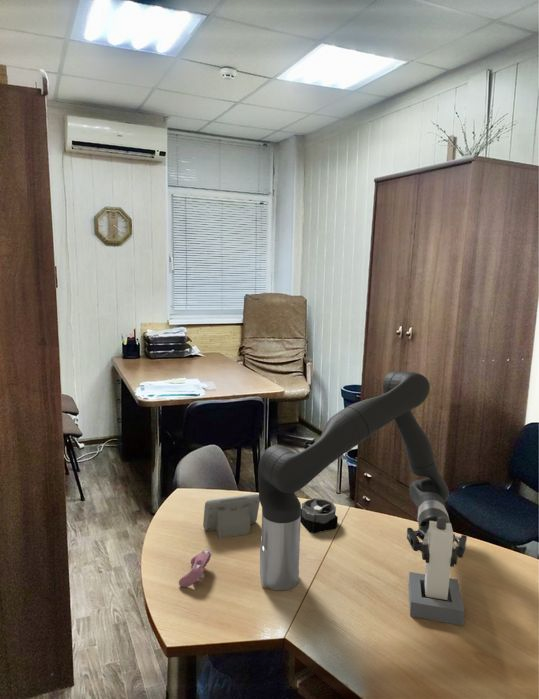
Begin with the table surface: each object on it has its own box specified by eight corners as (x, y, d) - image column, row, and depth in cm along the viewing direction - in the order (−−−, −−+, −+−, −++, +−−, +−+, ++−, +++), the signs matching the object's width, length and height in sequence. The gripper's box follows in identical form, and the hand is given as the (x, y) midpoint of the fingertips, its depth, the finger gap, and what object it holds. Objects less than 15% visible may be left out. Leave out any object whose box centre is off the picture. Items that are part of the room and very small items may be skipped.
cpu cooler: (325, 495, 152) (342, 511, 143) (324, 512, 153) (341, 529, 144) (295, 501, 148) (310, 517, 139) (294, 518, 149) (309, 536, 140)
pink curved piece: (192, 596, 116) (205, 574, 114) (176, 586, 116) (188, 563, 115) (205, 570, 126) (217, 549, 124) (190, 561, 126) (202, 540, 124)
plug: (447, 600, 110) (454, 524, 106) (425, 596, 111) (432, 521, 107) (445, 586, 114) (451, 513, 111) (424, 583, 115) (430, 511, 112)
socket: (463, 625, 106) (464, 611, 106) (410, 616, 109) (411, 602, 108) (456, 592, 117) (457, 579, 116) (408, 584, 119) (409, 571, 119)
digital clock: (258, 520, 147) (258, 487, 145) (261, 537, 139) (261, 502, 137) (203, 522, 146) (203, 488, 144) (202, 539, 137) (202, 504, 135)
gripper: (405, 503, 125) (407, 540, 109) (465, 511, 122) (476, 550, 106) (403, 530, 127) (405, 571, 110) (462, 538, 123) (473, 581, 107)
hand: (440, 560), depth 108 cm, fingers closed on plug, 4 cm apart
